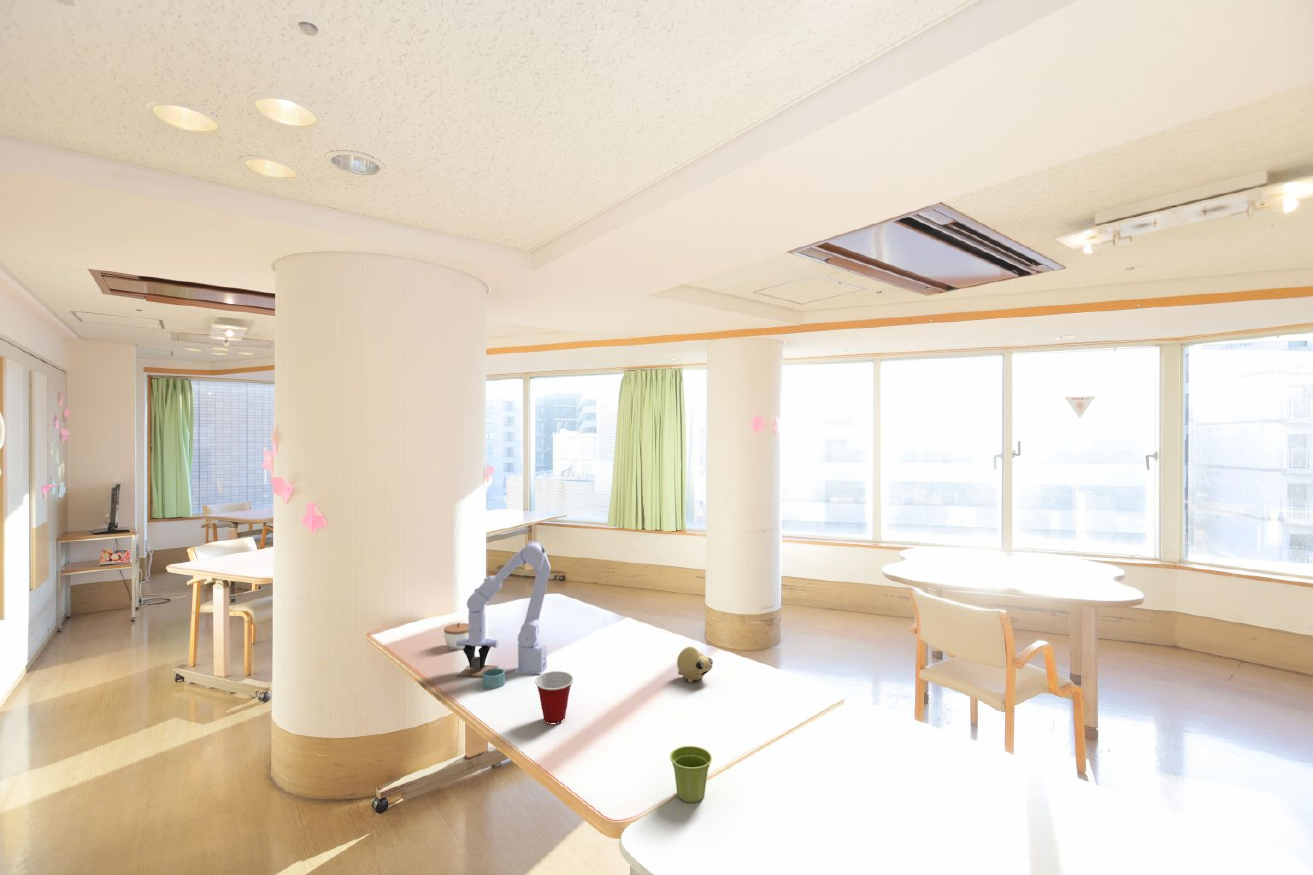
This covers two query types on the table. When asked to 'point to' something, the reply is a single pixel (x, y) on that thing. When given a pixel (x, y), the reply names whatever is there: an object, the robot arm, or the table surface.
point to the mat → (470, 677)
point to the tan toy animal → (693, 664)
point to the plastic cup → (554, 694)
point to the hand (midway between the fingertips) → (477, 667)
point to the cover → (475, 668)
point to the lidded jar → (456, 634)
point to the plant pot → (690, 771)
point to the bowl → (493, 678)
